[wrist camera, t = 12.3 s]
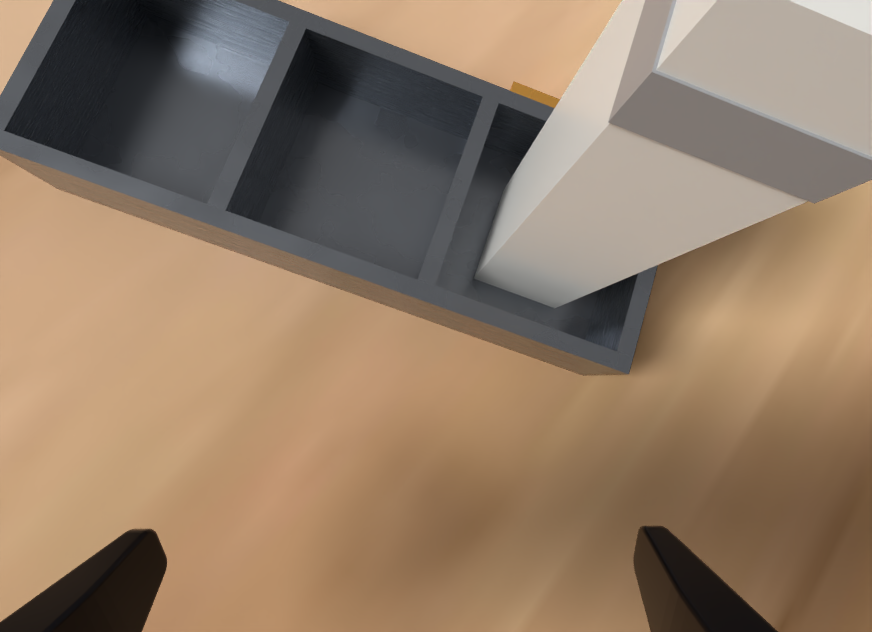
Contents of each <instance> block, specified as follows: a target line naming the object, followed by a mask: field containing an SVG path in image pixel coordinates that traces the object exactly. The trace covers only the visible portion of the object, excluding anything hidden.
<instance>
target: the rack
mask: <svg viewBox="0 0 872 632" xmlns="http://www.w3.org/2000/svg"><path fill="white" fill-rule="evenodd" d="M559 101H560V99H557V98H555V97H552V96H550V95H547V94H545V93H542V92H540V91H537V90H534V89H532V88H529V87H527V86H524V85H522V84H519V83H517V82H513V84H512V87H511V89H510V91H509V90H507V89H504V88H502V87H499V86H496V85H494V84H491V83H489V82H486V81H484V80H481V79H478V78H476V77H473V76H471V75H468V74H466V73H463V72H460V71H458V70H455V69H453V68H450V67H448V66H445V65H442V64H440V63H437V62H435V61H432V60H430V59H427V58H425V57H422V56H419V55H417V54H414V53H412V52H409V51H407V50H404V49H401V48H399V47H396V46H394V45H391V44H389V43H386V42H383V41H381V40H378V39H376V38H373V37H371V36H368V35H365V34H363V33H360V32H358V31H355V30H353V29H350V28H348V27H345V26H342V25H340V24H337V23H335V22H332V21H330V20H327V19H324V18H322V17H319V16H317V15H314V14H312V13H309V12H306V11H304V10H301V9H299V8H296V7H294V6H291V5H288V4H286V3H283V2H281V1H278V0H53V2H52V4H51V6H50V8H49V9H48V11H47V13H46V15H45V17H44V18H43V20H42V22H41V24H40V26H39V27H38V29H37V31H36V33H35V35H34V36H33V38H32V40H31V42H30V43H29V45H28V47H27V49H26V51H25V52H24V54H23V56H22V58H21V60H20V61H19V63H18V65H17V67H16V69H15V70H14V72H13V74H12V76H11V77H10V79H9V81H8V83H7V85H6V86H5V88H4V90H3V92H2V94H1V95H0V155H1V156H2V157H4V158H6V159H7V160H9V161H11V162H12V163H14V164H16V165H18V166H19V167H21V168H23V169H24V170H26V171H28V172H30V173H31V174H33V175H35V176H36V177H38V178H40V179H42V180H43V181H45V182H47V183H48V184H50V185H52V186H54V187H55V188H57V189H60V190H63V191H65V192H68V193H71V194H74V195H77V196H80V197H82V198H85V199H88V200H91V201H94V202H96V203H99V204H102V205H105V206H108V207H110V208H113V209H116V210H119V211H122V212H125V213H127V214H130V215H133V216H136V217H139V218H141V219H144V220H147V221H150V222H153V223H156V224H158V225H161V226H164V227H167V228H170V229H172V230H175V231H178V232H181V233H184V234H187V235H189V236H192V237H195V238H198V239H201V240H203V241H206V242H209V243H212V244H215V245H217V246H220V247H223V248H226V249H229V250H232V251H234V252H237V253H240V254H243V255H246V256H248V257H251V258H254V259H257V260H260V261H263V262H265V263H268V264H271V265H274V266H277V267H279V268H282V269H285V270H288V271H291V272H293V273H296V274H299V275H302V276H305V277H308V278H310V279H313V280H316V281H319V282H322V283H324V284H327V285H330V286H333V287H336V288H339V289H341V290H344V291H347V292H350V293H353V294H355V295H358V296H361V297H364V298H367V299H370V300H372V301H375V302H378V303H381V304H384V305H386V306H389V307H392V308H395V309H398V310H400V311H403V312H406V313H409V314H412V315H415V316H417V317H420V318H423V319H426V320H429V321H431V322H434V323H437V324H440V325H443V326H446V327H448V328H451V329H454V330H457V331H460V332H462V333H465V334H468V335H471V336H474V337H477V338H479V339H482V340H485V341H488V342H491V343H493V344H496V345H499V346H502V347H505V348H507V349H510V350H513V351H516V352H519V353H522V354H524V355H527V356H530V357H533V358H536V359H538V360H541V361H544V362H547V363H550V364H553V365H555V366H558V367H561V368H564V369H567V370H569V371H572V372H575V373H578V374H581V375H622V374H629V372H630V368H631V364H632V360H633V356H634V353H635V349H636V345H637V341H638V338H639V334H640V330H641V326H642V323H643V319H644V315H645V311H646V308H647V304H648V300H649V296H650V293H651V289H652V285H653V281H654V277H655V274H656V270H657V266H658V265H656V266H654V267H651V268H649V269H647V270H644V271H642V272H640V273H637V274H635V275H632V276H630V277H628V278H625V279H623V280H621V281H618V282H616V283H614V284H611V285H609V286H606V287H604V288H602V289H599V290H597V291H595V292H592V293H590V294H588V295H585V296H583V297H580V298H578V299H576V300H573V301H571V302H569V303H566V304H564V305H561V306H559V307H557V308H553V307H550V306H547V305H545V304H542V303H539V302H536V301H534V300H531V299H528V298H526V297H523V296H520V295H517V294H515V293H512V292H509V291H506V290H504V289H501V288H498V287H495V286H493V285H490V284H487V283H484V282H482V281H479V280H476V279H474V276H475V273H476V270H477V268H478V265H479V262H480V259H481V256H482V253H483V250H484V247H485V244H486V241H487V238H488V235H489V232H490V229H491V226H492V223H493V220H494V217H495V214H496V211H497V208H498V205H499V202H500V200H501V197H502V194H503V191H504V189H505V187H506V185H507V184H508V182H509V181H510V179H511V177H512V176H513V174H514V173H515V171H516V169H517V168H518V166H519V165H520V163H521V161H522V160H523V158H524V157H525V155H526V153H527V152H528V150H529V149H530V147H531V145H532V144H533V142H534V141H535V139H536V137H537V136H538V134H539V133H540V131H541V129H542V128H543V126H544V125H545V123H546V121H547V120H548V118H549V117H550V115H551V113H552V112H553V110H554V109H555V107H556V105H557V104H558V102H559Z"/></svg>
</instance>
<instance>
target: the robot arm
mask: <svg viewBox="0 0 872 632" xmlns="http://www.w3.org/2000/svg"><path fill="white" fill-rule="evenodd" d="M166 567H167V558H166V555H165V552H164V550H163V547H162V545H161V543H160V540H159V538H158V536H157V533H156V532H155V531H154V530H152V529H132V530H129V531H127V532H125V533H124V534H123V535H121V536H120V537H118V538H117V539H116V540H114V541H113V542H111V543H110V544H109V545H107V546H106V547H104V548H103V549H102V550H100V551H99V552H97V553H96V554H95V555H93V556H92V557H90V558H89V559H88V560H86V561H85V562H83V563H82V564H81V565H79V566H78V567H77V568H75V569H74V570H72V571H71V572H70V573H68V574H67V575H65V576H64V577H63V578H61V579H60V580H58V581H57V582H56V583H54V584H53V585H51V586H50V587H49V588H47V589H46V590H44V591H43V592H42V593H40V594H39V595H37V596H36V597H35V598H33V599H32V600H31V601H29V602H28V603H26V604H25V605H24V606H22V607H21V608H19V609H18V610H17V611H15V612H14V613H12V614H11V615H10V616H8V617H7V618H5V619H4V620H3V621H1V622H0V632H142V630H143V627H144V625H145V622H146V620H147V617H148V615H149V612H150V610H151V607H152V605H153V602H154V600H155V597H156V594H157V592H158V589H159V587H160V584H161V582H162V579H163V577H164V574H165V571H166ZM634 569H635V574H636V577H637V581H638V585H639V589H640V592H641V596H642V600H643V604H644V607H645V611H646V615H647V619H648V622H649V626H650V630H651V632H778V631H777V630H776V629H775V628H773V627H772V626H771V625H770V624H769V623H768V622H767V621H766V620H765V619H764V618H763V617H762V616H761V615H760V614H758V613H757V612H756V611H755V610H754V609H753V608H752V607H751V606H750V605H749V604H748V603H747V602H746V601H744V600H743V599H742V598H741V597H740V596H739V595H738V594H737V593H736V592H735V591H734V590H733V589H732V588H731V587H729V586H728V585H727V584H726V583H725V582H724V581H723V580H722V579H721V578H720V577H719V576H718V575H717V574H715V573H714V572H713V571H712V570H711V569H710V568H709V567H708V566H707V565H706V564H705V563H704V562H703V561H702V560H700V559H699V558H698V557H697V556H696V555H695V554H694V553H693V552H692V551H691V550H690V549H689V548H688V547H687V546H685V545H684V544H683V543H682V542H681V541H680V540H679V539H678V538H677V537H676V536H675V535H674V534H673V533H671V532H670V531H669V530H668V529H667V528H665V527H663V526H642V527H640V529H639V531H638V535H637V541H636V546H635V552H634Z"/></svg>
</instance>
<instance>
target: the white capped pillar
mask: <svg viewBox="0 0 872 632" xmlns="http://www.w3.org/2000/svg"><path fill="white" fill-rule="evenodd" d="M870 180H872V0H622V1H621V3H620V4H619V6H618V8H617V9H616V11H615V12H614V14H613V16H612V17H611V19H610V20H609V22H608V24H607V25H606V27H605V28H604V30H603V32H602V33H601V35H600V36H599V38H598V40H597V41H596V43H595V44H594V46H593V48H592V49H591V51H590V52H589V54H588V56H587V57H586V59H585V60H584V62H583V64H582V65H581V67H580V68H579V70H578V72H577V73H576V75H575V76H574V78H573V80H572V81H571V83H570V85H569V86H568V88H567V89H566V91H565V93H564V94H563V96H562V97H561V99H560V101H559V102H558V104H557V105H556V107H555V109H554V110H553V112H552V113H551V115H550V117H549V118H548V120H547V121H546V123H545V125H544V126H543V128H542V129H541V131H540V133H539V134H538V136H537V137H536V139H535V141H534V142H533V144H532V145H531V147H530V149H529V150H528V152H527V153H526V155H525V157H524V158H523V160H522V161H521V163H520V165H519V166H518V168H517V169H516V171H515V173H514V174H513V176H512V177H511V179H510V181H509V182H508V184H507V185H506V187H505V189H504V191H503V194H502V197H501V200H500V202H499V205H498V208H497V211H496V214H495V217H494V220H493V223H492V226H491V229H490V232H489V235H488V238H487V241H486V244H485V247H484V250H483V253H482V256H481V259H480V262H479V265H478V268H477V270H476V273H475V276H474V279H476V280H479V281H482V282H484V283H487V284H490V285H493V286H495V287H498V288H501V289H504V290H506V291H509V292H512V293H515V294H517V295H520V296H523V297H526V298H528V299H531V300H534V301H536V302H539V303H542V304H545V305H547V306H550V307H553V308H557V307H559V306H561V305H564V304H566V303H569V302H571V301H573V300H576V299H578V298H580V297H583V296H585V295H588V294H590V293H592V292H595V291H597V290H599V289H602V288H604V287H606V286H609V285H611V284H614V283H616V282H618V281H621V280H623V279H625V278H628V277H630V276H632V275H635V274H637V273H640V272H642V271H644V270H647V269H649V268H651V267H654V266H656V265H659V264H661V263H663V262H666V261H668V260H670V259H673V258H675V257H677V256H680V255H682V254H685V253H687V252H689V251H692V250H694V249H696V248H699V247H701V246H703V245H706V244H708V243H711V242H713V241H715V240H718V239H720V238H722V237H725V236H727V235H730V234H732V233H734V232H737V231H739V230H741V229H744V228H746V227H748V226H751V225H753V224H756V223H758V222H760V221H763V220H765V219H767V218H770V217H772V216H774V215H777V214H779V213H782V212H784V211H786V210H789V209H791V208H793V207H796V206H798V205H800V204H803V203H805V202H808V201H809V202H812V203H817V202H819V201H822V200H824V199H826V198H829V197H831V196H834V195H836V194H839V193H841V192H843V191H846V190H848V189H851V188H853V187H856V186H858V185H860V184H863V183H865V182H868V181H870Z"/></svg>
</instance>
